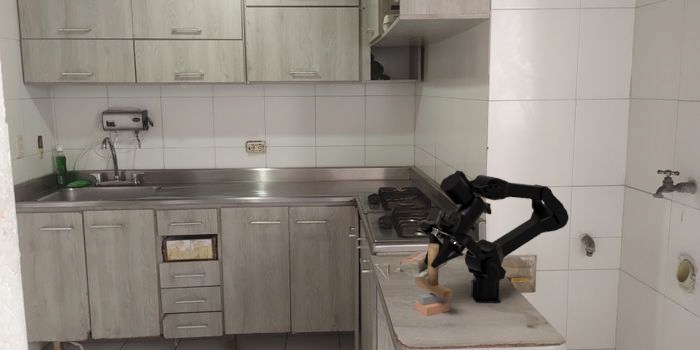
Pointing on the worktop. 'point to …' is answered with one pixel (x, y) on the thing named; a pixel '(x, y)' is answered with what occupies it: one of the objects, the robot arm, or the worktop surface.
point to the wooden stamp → (433, 276)
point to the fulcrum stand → (431, 304)
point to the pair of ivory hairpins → (381, 270)
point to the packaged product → (414, 265)
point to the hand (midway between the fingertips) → (428, 265)
